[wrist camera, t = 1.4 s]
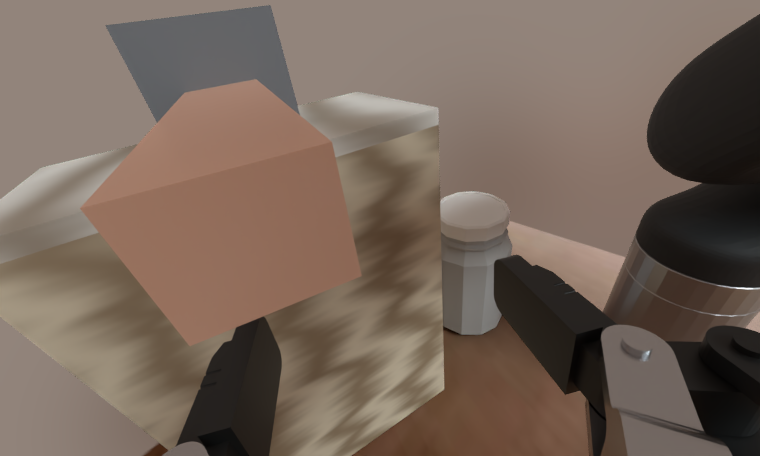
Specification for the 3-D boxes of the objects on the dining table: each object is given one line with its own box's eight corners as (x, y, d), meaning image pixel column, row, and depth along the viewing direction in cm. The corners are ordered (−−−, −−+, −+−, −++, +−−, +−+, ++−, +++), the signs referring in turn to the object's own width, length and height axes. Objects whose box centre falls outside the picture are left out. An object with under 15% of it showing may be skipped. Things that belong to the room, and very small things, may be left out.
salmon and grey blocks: (186, 134, 21) (136, 32, 17) (286, 112, 23) (258, 16, 19) (78, 391, 5) (-611, -131, 2) (430, 248, 7) (412, -130, 4)
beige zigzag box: (395, 326, 44) (357, 91, 26) (444, 389, 36) (438, 107, 18) (241, 415, 36) (41, 167, 18) (258, 521, 28) (-75, 257, 10)
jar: (503, 294, 46) (517, 189, 36) (499, 348, 39) (516, 236, 29) (440, 283, 50) (437, 185, 40) (425, 331, 43) (418, 226, 33)
